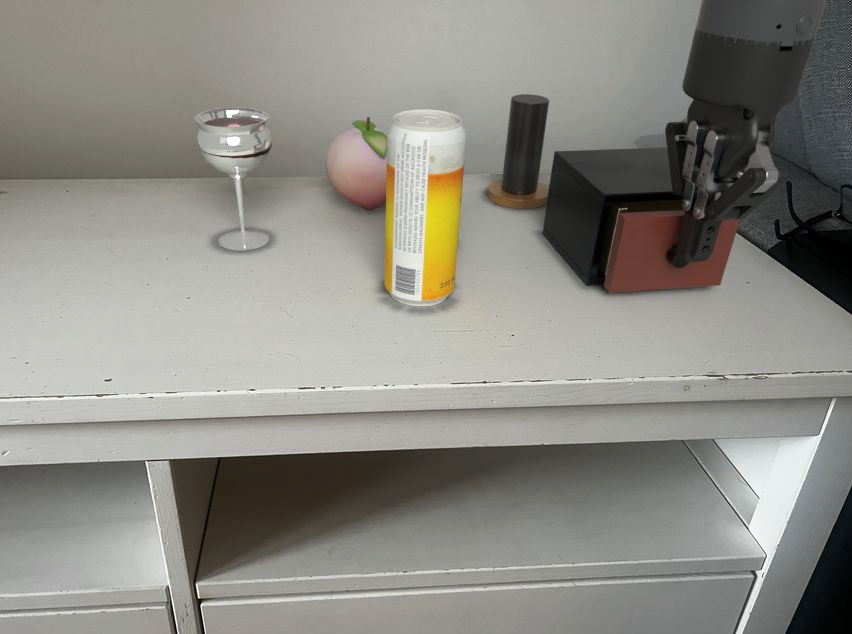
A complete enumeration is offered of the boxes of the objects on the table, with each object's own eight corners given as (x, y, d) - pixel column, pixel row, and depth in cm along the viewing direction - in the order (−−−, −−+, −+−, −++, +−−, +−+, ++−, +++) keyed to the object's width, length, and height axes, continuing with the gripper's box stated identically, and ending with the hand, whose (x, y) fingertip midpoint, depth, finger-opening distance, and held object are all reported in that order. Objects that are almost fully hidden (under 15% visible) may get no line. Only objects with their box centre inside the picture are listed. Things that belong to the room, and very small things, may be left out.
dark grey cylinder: (529, 182, 84) (541, 93, 79) (541, 194, 81) (554, 103, 75) (496, 183, 83) (506, 94, 78) (507, 196, 80) (518, 104, 75)
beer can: (461, 283, 64) (475, 112, 56) (443, 315, 60) (456, 133, 51) (396, 272, 66) (402, 104, 58) (374, 302, 61) (376, 124, 53)
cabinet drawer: (727, 292, 62) (751, 218, 59) (615, 299, 61) (631, 224, 57) (662, 236, 72) (678, 170, 68) (563, 242, 70) (575, 174, 67)
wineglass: (203, 231, 73) (188, 110, 66) (269, 222, 75) (260, 104, 68) (216, 259, 68) (200, 130, 61) (286, 248, 70) (278, 123, 63)
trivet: (536, 185, 86) (537, 177, 86) (557, 207, 80) (559, 198, 80) (480, 187, 85) (480, 179, 84) (497, 210, 79) (498, 201, 79)
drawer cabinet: (705, 278, 66) (731, 188, 62) (586, 286, 65) (604, 194, 60) (646, 228, 76) (665, 147, 71) (541, 233, 74) (554, 151, 69)
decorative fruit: (313, 202, 80) (310, 110, 75) (379, 191, 83) (380, 102, 78) (349, 233, 73) (348, 134, 68) (419, 220, 76) (423, 125, 71)
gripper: (657, 12, 54) (613, 228, 63) (764, 45, 43) (691, 300, 52) (748, 11, 55) (691, 223, 64) (874, 44, 44) (784, 293, 54)
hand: (691, 257), depth 58 cm, fingers closed
